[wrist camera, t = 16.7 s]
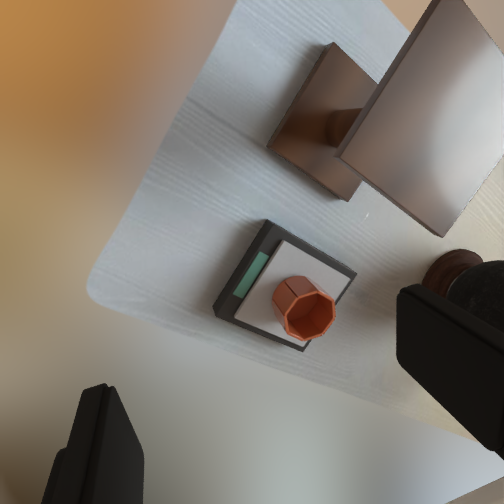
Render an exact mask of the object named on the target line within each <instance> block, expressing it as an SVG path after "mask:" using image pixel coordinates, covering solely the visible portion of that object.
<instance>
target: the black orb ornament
mask: <svg viewBox="0 0 504 504" xmlns="http://www.w3.org/2000/svg"><path fill="white" fill-rule="evenodd" d="M422 285H423V286H424V287H426V288H428V289H430V290H431V291H433V292H435V293H436V294H438V295H440V296H442V297H443V298H445V299H447V300H448V301H450V302H452V303H453V304H455V305H457V306H459V307H460V308H462V309H464V310H465V311H467V312H469V313H471V314H472V315H474V316H476V317H477V318H479V319H481V320H483V321H484V322H486V323H488V324H489V325H491V326H493V327H494V328H496V329H498V330H500V331H501V332H503V333H504V260H497V261H489V262H483V260H482V258H481V257H480V256H479V255H478V254H476V253H475V252H472V251H469V250H466V249H458V250H453V251H451V252H448V253H447V254H445V255H443V256H442V257H440V258H439V259H438V260H437V261H436V262H435V263H434V264H433V265H432V266H431V267H430V269H429V270H428V272H427V273H426V275H425V277H424V279H423V283H422Z"/></svg>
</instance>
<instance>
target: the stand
mask: <svg viewBox="0 0 504 504" xmlns="http://www.w3.org/2000/svg"><path fill="white" fill-rule="evenodd" d="M267 147H268V148H269V149H271V150H272V151H274V152H275V153H276V154H278V155H279V156H281V157H282V158H283V159H285V160H286V161H288V162H289V163H291V164H292V165H293V166H295V167H296V168H298V169H299V170H300V171H302V172H303V173H305V174H306V175H307V176H309V177H310V178H312V179H313V180H315V181H316V182H317V183H319V184H320V185H322V186H323V187H324V188H326V189H327V190H329V191H330V192H332V193H333V194H334V195H336V196H337V197H339V198H340V199H341V200H344V201H346V202H349V200H350V199H351V197H352V196H353V194H354V193H355V191H356V190H357V188H358V186H359V185H360V183H361V182H362V180H363V181H365V182H366V183H367V184H369V185H370V186H371V187H372V188H374V189H375V190H376V191H378V192H379V193H380V194H382V195H383V196H384V197H386V198H387V199H388V200H389V201H391V202H392V203H393V204H395V205H396V206H397V207H399V208H400V209H401V210H402V211H404V212H405V213H406V214H408V215H409V216H410V217H412V218H413V219H414V220H415V221H417V222H418V223H419V224H421V225H422V226H423V227H425V228H426V229H427V230H428V231H430V232H431V233H432V234H434V235H436V236H439V237H441V238H443V237H444V236H445V234H446V233H447V232H448V230H449V229H450V228H451V226H452V225H453V224H454V222H455V221H456V219H457V218H458V217H459V215H460V214H461V213H462V211H463V210H464V208H465V207H466V206H467V204H468V203H469V202H470V200H471V199H472V198H473V196H474V195H475V193H476V192H477V191H478V189H479V188H480V187H481V185H482V184H483V183H484V181H485V180H486V178H487V177H488V176H489V174H490V173H491V172H492V170H493V169H494V167H495V166H496V165H497V163H498V162H499V161H500V159H501V158H502V157H503V155H504V54H503V53H502V51H501V50H500V49H499V47H498V46H497V45H496V43H495V42H494V41H493V39H492V38H491V37H490V36H489V34H488V33H487V31H486V30H485V29H484V27H483V26H482V25H481V23H480V22H479V21H478V20H477V18H476V17H475V15H474V14H473V13H472V11H471V10H470V9H469V8H468V6H467V5H466V3H465V2H464V1H463V0H432V1H431V3H430V4H429V6H428V7H427V9H426V10H425V12H424V13H423V15H422V17H421V18H420V20H419V21H418V23H417V24H416V26H415V28H414V29H413V31H412V32H411V34H410V35H409V37H408V39H407V40H406V42H405V43H404V45H403V46H402V48H401V50H400V51H399V53H398V54H397V56H396V57H395V59H394V61H393V62H392V64H391V65H390V67H389V68H388V70H387V72H386V73H385V75H384V76H383V78H382V79H381V81H380V82H379V84H377V83H376V82H375V81H374V80H373V79H372V78H371V77H370V76H369V75H368V74H367V73H366V72H365V71H363V70H362V69H361V68H360V67H359V66H358V65H357V64H356V63H355V62H354V61H353V60H352V59H351V58H350V57H349V56H348V55H347V54H346V53H345V52H344V51H343V50H342V49H341V48H340V47H339V46H338V45H337V44H336V43H335V42H332V43H330V44H328V45H327V46H326V48H325V49H324V51H323V53H322V54H321V56H320V58H319V59H318V61H317V63H316V64H315V66H314V68H313V69H312V71H311V73H310V74H309V76H308V78H307V79H306V81H305V83H304V84H303V86H302V88H301V89H300V91H299V93H298V94H297V96H296V98H295V99H294V101H293V103H292V104H291V106H290V108H289V109H288V111H287V113H286V114H285V116H284V118H283V119H282V121H281V123H280V124H279V126H278V128H277V129H276V131H275V133H274V135H273V136H272V138H271V140H270V141H269V143H268V145H267Z"/></svg>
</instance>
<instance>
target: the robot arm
mask: <svg viewBox="0 0 504 504" xmlns="http://www.w3.org/2000/svg"><path fill="white" fill-rule="evenodd" d="M396 356H397V360H398V362H399V364H400V365H401V367H402V368H403V369H404V370H405V371H407V372H408V373H409V374H410V375H411V376H412V377H413V378H414V379H415V380H416V381H417V382H418V383H419V384H420V385H421V386H422V387H423V388H424V389H425V390H426V391H427V392H428V393H429V394H430V395H431V396H432V397H433V398H434V399H435V400H437V401H438V402H439V403H440V404H441V405H442V406H443V407H444V408H445V409H446V410H447V411H448V412H449V413H450V414H451V415H452V416H453V417H454V418H455V419H456V420H457V421H458V422H459V423H460V424H461V425H462V426H463V427H464V428H465V429H467V430H468V431H469V432H470V433H471V434H472V435H473V436H474V437H475V438H476V439H477V440H478V441H479V442H480V443H481V444H482V445H483V446H484V447H485V448H487V449H488V450H490V451H495V452H496V453H497V454H498V455H499V456H500V457H501V458H502V459H503V460H504V333H503V332H501V331H500V330H498V329H496V328H494V327H493V326H491V325H489V324H488V323H486V322H484V321H483V320H481V319H479V318H477V317H476V316H474V315H472V314H471V313H469V312H467V311H465V310H464V309H462V308H460V307H459V306H457V305H455V304H453V303H452V302H450V301H448V300H447V299H445V298H443V297H442V296H440V295H438V294H436V293H435V292H433V291H431V290H430V289H428V288H426V287H424V286H423V285H421V284H414V285H411V286H408V287H404V288H402V289H401V290H400V293H399V294H398V295H397V306H396ZM143 482H144V454H143V450H142V447H141V444H140V443H139V440H138V438H137V436H136V433H135V431H134V429H133V426H132V424H131V422H130V420H129V417H128V415H127V413H126V411H125V409H124V406H123V404H122V402H121V400H120V397H119V395H118V393H117V391H116V388H115V387H114V386H111V387H108V386H107V384H105V383H103V384H100V385H97V386H94V387H91V388H87V389H85V390H83V392H82V394H81V398H80V401H79V405H78V408H77V412H76V416H75V419H74V423H73V426H72V430H71V433H70V437H69V441H68V444H67V447H66V448H63V449H61V450H60V451H59V452H58V453H57V455H56V457H55V460H54V463H53V467H52V470H51V473H50V476H49V479H48V483H47V486H46V489H45V492H44V496H43V499H42V502H41V504H143ZM446 504H504V477H502V478H500V479H498V480H496V481H493V482H491V483H489V484H487V485H485V486H482V487H480V488H478V489H476V490H474V491H472V492H470V493H467V494H465V495H463V496H461V497H459V498H457V499H455V500H452V501H450V502H448V503H446Z"/></svg>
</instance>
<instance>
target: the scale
mask: <svg viewBox="0 0 504 504" xmlns="http://www.w3.org/2000/svg"><path fill="white" fill-rule="evenodd" d="M356 275H357V273H356V272H354V271H353V270H351V269H350V268H349V267H347V266H345V265H344V264H342V263H340V262H339V261H337V260H335V259H334V258H332V257H330V256H329V255H327V254H325V253H324V252H322V251H320V250H318V249H317V248H315V247H313V246H312V245H310V244H308V243H307V242H305V241H303V240H302V239H300V238H298V237H297V236H295V235H293V234H292V233H290V232H288V231H287V230H285V229H283V228H282V227H280V226H278V225H277V224H275V223H273V222H271V221H270V220H268V219H267V220H266V222H265V223H264V225H263V227H262V228H261V230H260V231H259V233H258V235H257V236H256V238H255V239H254V241H253V243H252V244H251V246H250V247H249V249H248V251H247V252H246V254H245V256H244V257H243V259H242V260H241V262H240V264H239V265H238V267H237V268H236V270H235V272H234V273H233V275H232V276H231V278H230V280H229V281H228V283H227V284H226V286H225V288H224V289H223V291H222V292H221V294H220V296H219V297H218V299H217V300H216V302H215V304H214V305H213V310H214V313H215V316H216V317H218V318H221V319H223V320H226V321H228V322H231V323H233V324H235V325H238V326H240V327H243V328H245V329H248V330H250V331H252V332H255V333H257V334H260V335H262V336H264V337H267V338H269V339H272V340H274V341H277V342H279V343H281V344H284V345H286V346H289V347H291V348H294V349H296V350H298V351H301V352H303V351H304V350H305V349H306V347H307V346H308V344H309V343H310V341H311V340H312V339H310V340H307V341H300V340H298V339H296V338H294V337H292V336H290V335H288V334H287V333H286V332H285V330H284V329H283V327H282V325H281V324H280V322H279V321H278V319H277V318H276V316H275V314H274V310H273V307H272V296H273V293H274V291H275V289H276V288H277V287H278V285H279V284H280V283H281V282H283V281H284V280H285V279H287V278H289V277H292V276H305V277H308V278H310V279H311V280H312V281H314V282H316V283H317V284H318V285H320V286H321V287H322V288H323V289H324V290H325V291H326V292H327V293H328V294H329V295H330V296H331V297H332V298H333V299H334V302H335V305H336V304H337V303H338V301H339V300H340V298H341V297H342V295H343V294H344V293H345V291H346V290H347V288H348V287H349V285H350V284H351V282H352V281H353V280H354V278H355V277H356Z"/></svg>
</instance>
